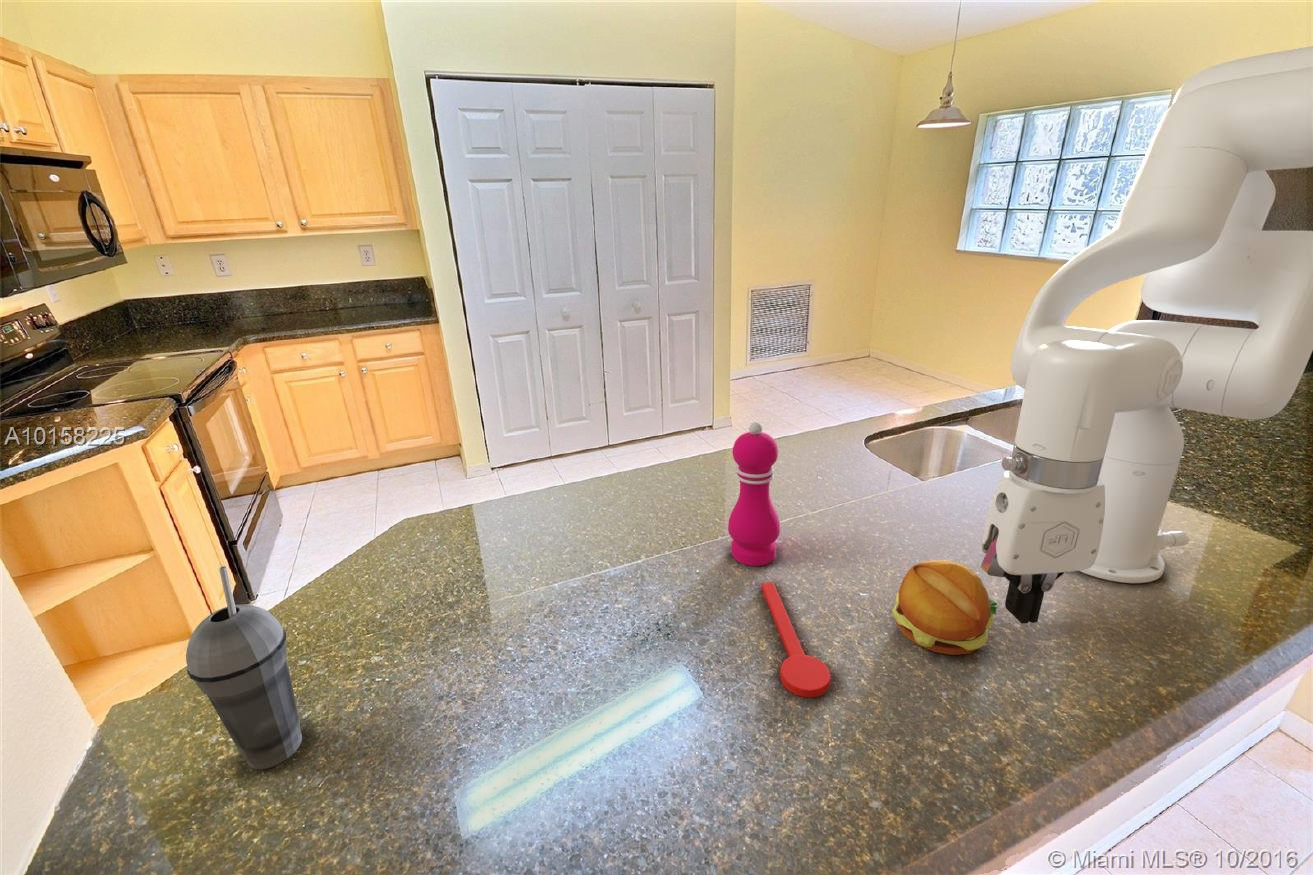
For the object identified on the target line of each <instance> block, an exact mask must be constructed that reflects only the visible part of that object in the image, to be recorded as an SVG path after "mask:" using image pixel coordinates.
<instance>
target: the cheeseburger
mask: <svg viewBox="0 0 1313 875" xmlns="http://www.w3.org/2000/svg"><path fill="white" fill-rule="evenodd" d="M997 605H998V603H997V602H996V601H994V600H992V599H991V598H990V596H989V593H988V590H987V588H986V586H985V584H984V582H983V581H982V579H981V578H980V577H979V576H978V574H977V573H976V572H974V570H972V568H971V567H968V566H967V565H965V564H963V563H960V562H957V561H956V562H955V561H951V560H943V559H932V560H925V561H921V562H918V563H916V564H914V565H913V566H912V567H910V569H908V571H907V572H906V573H905V575H904V577H903V578H902V581H901V583H900V586H899V589H898V591H897V592H896V594H895V605H894V607H893V609H892V610H891V612H892V616H893V618H894V620H895V622H896V626H897V628H898V629H899V630H900V631H901V633H902V634H903V636H905V638H906V639H909V640H910V641H912V643H914V644H916V645H917V646H919V647H922V648H925V649H926V650H929V651H932V652H934V653H939V654H945V655H952V656H956V655H966V654H967V655H968V654H971V653H972V652H974V651H976V650H979V649H981V648H982V647H983V646H985V645H986V643H987V642H988V636H989V628H990V627H991V626H992V625H993V624H994V619H995V616H994V615H997V609H998V606H997Z"/></svg>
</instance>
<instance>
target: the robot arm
mask: <svg viewBox="0 0 1313 875" xmlns="http://www.w3.org/2000/svg"><path fill="white" fill-rule="evenodd" d="M1173 98H1174V99H1173V101H1172V104H1171V105H1170V106H1169V107H1168V109H1166V111H1165V113H1164V114H1163V116H1162V118H1161V119H1160V121H1159V123H1158V125H1157V128H1156V130H1155V132H1154V135H1153V137H1152V139H1151V142H1150V144H1149V146H1148V149H1147V151H1146V153H1145V156H1144V158H1143V160H1142V163H1141V165H1140V167H1139V169H1138V172H1137V175H1136V176H1135V179H1134V181H1133V184H1132V186H1131V189H1130V191H1129V194H1128V196H1127V199H1126V201H1125V202H1124V204H1123V207H1122V209H1121V211H1120V214H1119V216H1118V218H1117V221H1116V223H1115V225H1114V226H1113V228H1112V229H1111V231H1109V232H1108V233H1107V234H1106V235H1104V236H1103V237H1101V238H1100V239H1098V240H1096V241H1095V242H1093V243H1092V244H1090V245H1088V246H1087V247H1086V248H1084V249H1083V250H1081V251H1080V252H1079V253H1078V254H1076V255H1074V257H1072V258H1071V259H1070V260H1069V261H1068V262H1066V263H1065V264H1064V265H1063V266H1061V268H1059V269H1058V270H1057V271H1056V272H1055V273H1054V274H1053V275H1052V276H1051V277H1049V279H1048V280H1047V281H1046V282H1045V283H1044V284H1043V286H1042V287H1041V288H1040V289H1039V291H1038V292H1037V294H1036V295H1035V297H1034V299H1033V301H1032V303H1031V305H1030V306H1029V307H1030V308H1029V310H1028V312H1027V315H1026V317H1025V318H1024V320H1023V321H1024V322H1023V323H1022V326H1021V328H1020V330H1019V332H1018V335H1017V338H1016V339H1015V340H1016V341H1015V344H1014V346H1013V349H1012V354H1011V358H1010V367H1009V368H1010V374H1011V378H1012V380H1014V382H1015V384H1016V385H1018V387H1021V388H1022V389H1023V390H1024V393H1023V397H1022V403H1021V408H1020V412H1019V418H1018V423H1017V427H1016V433H1015V438H1014V443H1013V448H1012V453H1011V455H1010V456H1007V457H1006V456H1005V457H1003V458H1002V460H1001V467H1002V469H1003V470H1004V471H1005V472H1003V475H1002V476H1001V478H1000V480H999V483H998V485H997V487H996V489H995V492H994V495H993V497H992V500H991V503H990V506H989V509H988V513H987V517H986V520H985V524H984V529H983V533H982V541H981V550H982V552H983V553H984V554H985V555H984V558H983V560H982V562H981V564H980V568H981V570H982V571H983V572H984V573H986V574H987V575H988V576H991V577H997V578H1005V579H1006V580H1007V581H1008V588H1007V591H1006V597H1005V600H1004V601H1005V602H1004V606H1005V609H1006V610H1007V611H1008V612H1009V613H1010V614H1011V615H1012V616H1013V617H1014V618H1015V619H1016V620H1017V621H1018V622H1019V623H1020V624H1021V625H1022V624H1023V625H1024V624H1028V623H1031V624H1036V623H1038V621H1039V617H1040V613H1041V608H1042V604H1043V600H1044V596H1045V593H1048V592H1050V591H1051V590H1052V589H1053V587H1054V585H1055V582H1056V580H1058V579H1060V577H1062V576H1063V575H1064V574H1066V573H1071V572H1072V573H1073V572H1080V573H1083V574H1085V575H1087V576H1090V577H1094V578H1098V579H1100V580H1105V581H1110V582H1117V583H1124V584H1125V583H1126V584H1145V583H1151V582H1154V581H1156V580H1158V579H1160V578H1161V577H1162V575H1163V573H1164V572H1165V567H1166V564H1165V561H1164V559H1163V558H1162V557H1161V555H1160V554H1159V553H1160V550H1161V551H1162V550H1164V549H1166V548H1167V547H1169V548H1170V547H1171V548H1172V547H1183V546H1187V545H1188V544H1189V540H1190V539H1189V536H1188V535H1187V533H1185V532H1184V531H1181V530H1176V531H1175V530H1174V531H1166V532H1162V529H1161V525H1162V522H1163V518H1164V515H1165V512H1166V509H1167V505H1168V502H1169V498H1170V495H1171V492H1172V489H1173V485H1174V482H1175V479H1176V476H1177V472H1178V469H1179V465H1180V461H1181V460H1182V456H1183V453H1184V449H1185V438H1184V433H1183V432H1184V431H1183V429H1182V427H1181V424H1180V423H1179V421H1178V419H1177V418H1176V416H1175V414H1174V413H1173V410H1172V409H1181V410H1187V411H1193V412H1199V413H1203V414H1210V415H1215V416H1220V417H1226V418H1227V417H1228V418H1233V419H1240V420H1251V421H1257V420H1258V421H1259V420H1265V419H1269V418H1272V417H1274V416H1276V415H1277V414H1279V413H1280V412H1281V411H1282V410H1283V409H1284V408H1285V407H1286V406H1287V404H1288V403H1289V402H1290V401H1291V399H1292V397H1293V395H1294V393H1295V391H1296V390H1297V387H1298V386H1299V383H1300V381H1301V379H1302V377H1303V374H1304V372H1305V369H1306V367H1307V365H1308V363H1309V360H1310V358H1311V355H1312V353H1313V230H1263V227H1264V225H1265V222H1266V220H1267V218H1268V215H1269V213H1270V211H1271V208H1272V206H1273V204H1274V202H1275V199H1276V192H1277V191H1276V186H1275V184H1274V182H1273V180H1272V178H1271V177H1270V175H1269V174H1268V172H1267V171H1277V170H1291V169H1307V168H1313V45H1311V46H1304V47H1299V48H1293V49H1286V50H1281V51H1276V52H1268V53H1263V54H1259V55H1258V54H1257V55H1253V56H1248V57H1243V58H1237V59H1234V60H1230V61H1225V62H1223V63H1219V64H1216V65H1213V66H1210V67H1208V68H1206V69H1203V70H1201V71H1198V72H1197V73H1195V74H1193V75H1191V76H1190V77H1189V78H1187V79H1186V80H1185V81H1184V82H1183V83H1182V85H1181V86H1180V87H1179V88H1178V90H1177V92H1176V94H1175V96H1174V97H1173ZM1143 275H1144V277H1143V278H1142V283H1141V287H1140V297H1141V301H1142V303H1143V304H1144V305H1145V306H1146V307H1148V308H1149V309H1151V310H1153V311H1156V312H1158V313H1159V312H1160V313H1163V314H1168V315H1169V314H1170V315H1177V316H1185V317H1186V316H1187V317H1197V318H1206V319H1207V318H1209V319H1221V320H1232V321H1243V322H1244V321H1246V322H1252V323H1253V324H1256V325H1257V326H1258V327H1257V328H1247V327H1245V328H1244V327H1234V326H1223V325H1222V326H1221V325H1210V324H1205V323H1204V324H1203V323H1195V322H1184V321H1183V322H1182V321H1172V320H1171V321H1170V320H1157V319H1156V320H1154V319H1143V320H1132V321H1128V322H1124V323H1121V324H1118V325H1116V326H1114V327H1112V328H1110V329H1109V330H1107V329H1099V328H1098V329H1097V328H1089V327H1087V328H1086V327H1077V326H1067V325H1065V323H1066V322H1067V320H1068V318H1069V317H1070V315H1071V314H1072V312H1074V310H1075V309H1076V308H1077V307H1079V305H1080V304H1081V303H1083V302H1084V301H1085V300H1086V299H1088V298H1089V297H1091V296H1092V295H1094V294H1096V293H1097V292H1099V291H1101V290H1104V289H1106V288H1108V287H1110V286H1113V285H1115V284H1118V283H1121V282H1123V281H1127V280H1130V279H1133V278H1136V277H1140V276H1143ZM1171 408H1172V409H1171Z"/></svg>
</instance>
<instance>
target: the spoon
mask: <svg viewBox="0 0 1313 875" xmlns="http://www.w3.org/2000/svg"><path fill="white" fill-rule="evenodd" d="M760 586H761V587H760V588H761V590H762V593H763V596H764V599H765V601H766V603H767V606H768V608H769V611H770V614H771V616H772V618H773V621H774V624H775V626H776V629H777V632H778V634H779V637H780V639H781V642H782V644H783V646H784V650H785V651H786V654H787V656H788V657H787V658H786V659H785V660H783V662H782V663H781V666H780V674H779V675H780V681H781V683H782V685H783V687H784V688H785V689H786V690H787V691H788V692H790V693H792V694H794V695H796V696H798V697H802V698H807V699H810V698H818V697H820V696H822V695H824V694H825V693H827V692H828V690H829V689H830V686H831V671H830V669H829V668H828V666H827V665H826V664H825V663H824V662H823V661H821V660H820V659H818V658H817V657H814V656H810V655H806V654H805V652H804V650H803V647H802V645H801V643H800V641H799V638H798V636H797V634H796V631H795V629H794V627H793V624H792V622H791V620H790V618H789V615H788V613H787V611H786V608H785V605H784V604H783V601H782V598H781V597H780V594H779V592H778V589H777V588H776V585H775V583H774V582H761V585H760Z"/></svg>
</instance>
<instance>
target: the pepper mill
mask: <svg viewBox="0 0 1313 875" xmlns="http://www.w3.org/2000/svg"><path fill="white" fill-rule="evenodd" d="M778 457H779V447H778V444H777V442H776V440H775V438H774V437H773V436H771V435H770V434H768V433H766V432H763V425H762V424H761V423H760V422H759V421H753V422H751V423H750V424H749V426H748V431H747V432H745V433H742V434H740V435H739V436H738V437H737V438H736V439H735V441H734V443H733V446H732V458H733V461H734V462H735V463H736V464H737V466H736V467H735V471H736V474H735V477H736V479H737V480H738V481H739V494H738V498H737V501H736V502H735V505H734V507H733V508H732V511H731V512H730V516H729V518H728V525H727V531H728V534H729V536H730V537H731V539H732V540H731V550H730V551H731V556H732V558H733V559H734V560H735V561H736V562H738V563H740V564H742V565H746V566H750V567H760V566H765V565H768V564H771V563H772V562H773V561H774V560H775V559H776V556H777V543H776V540H777V539H778V538H779V537H780V534H781V522H780V518H779V515H778V513H777V510H776V508H775V506H774V504H773V502H772V499H771V495H770V494H771V493H770V485H771V481H773V479H774V472H775V468H774V464H775V463H776V462H777V460H778Z"/></svg>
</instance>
